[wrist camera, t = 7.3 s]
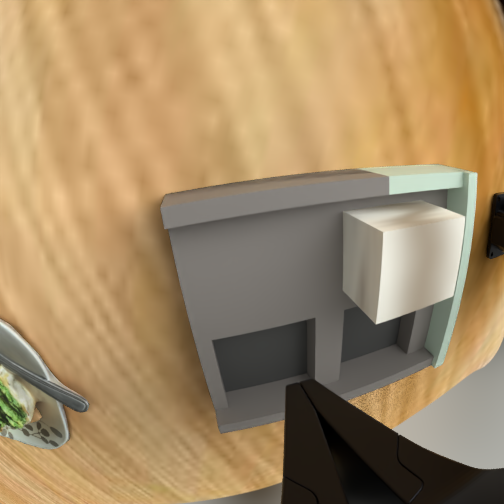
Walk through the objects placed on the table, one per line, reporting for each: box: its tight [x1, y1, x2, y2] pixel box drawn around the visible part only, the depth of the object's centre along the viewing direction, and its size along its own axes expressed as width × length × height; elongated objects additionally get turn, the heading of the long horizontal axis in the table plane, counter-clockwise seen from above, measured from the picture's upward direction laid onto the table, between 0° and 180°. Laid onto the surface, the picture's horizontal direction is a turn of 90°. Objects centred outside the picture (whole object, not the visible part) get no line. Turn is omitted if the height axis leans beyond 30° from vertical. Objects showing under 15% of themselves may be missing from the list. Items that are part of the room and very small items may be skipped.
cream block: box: [343, 200, 465, 324], centre depth 16 cm, size 6×5×4 cm
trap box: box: [160, 164, 477, 433], centre depth 19 cm, size 19×16×4 cm
